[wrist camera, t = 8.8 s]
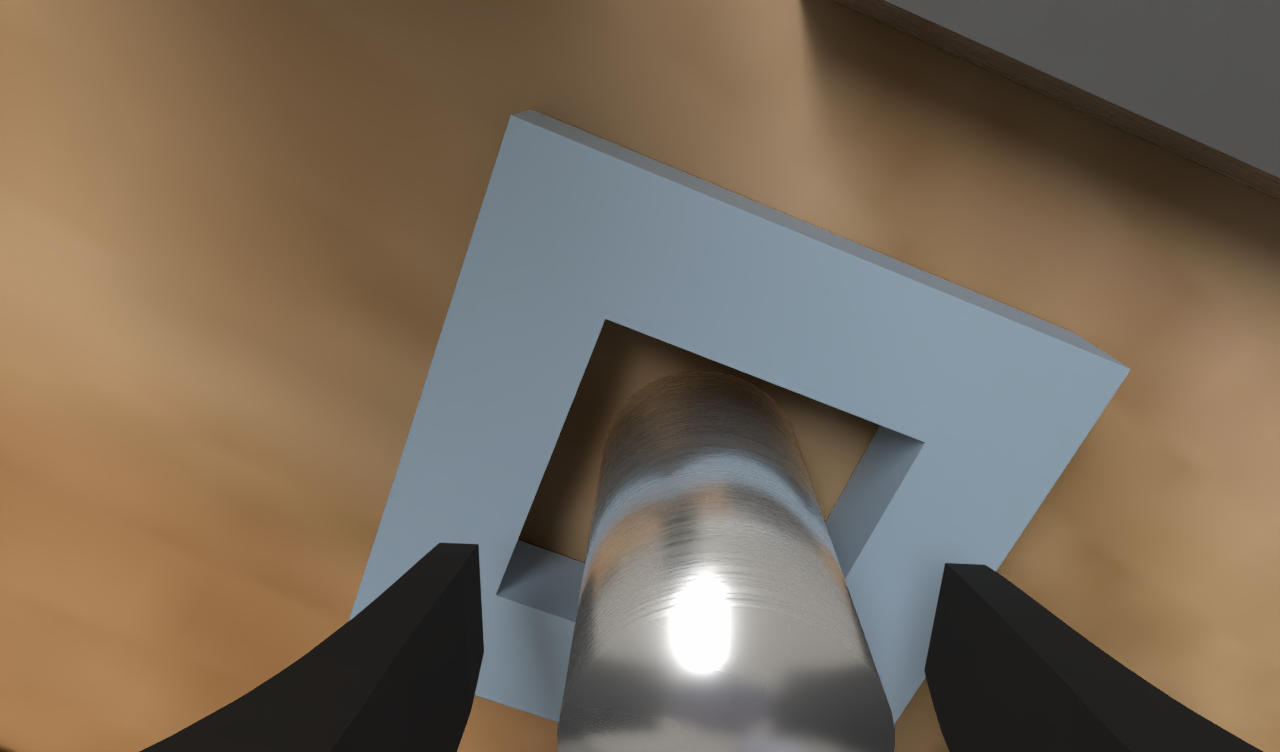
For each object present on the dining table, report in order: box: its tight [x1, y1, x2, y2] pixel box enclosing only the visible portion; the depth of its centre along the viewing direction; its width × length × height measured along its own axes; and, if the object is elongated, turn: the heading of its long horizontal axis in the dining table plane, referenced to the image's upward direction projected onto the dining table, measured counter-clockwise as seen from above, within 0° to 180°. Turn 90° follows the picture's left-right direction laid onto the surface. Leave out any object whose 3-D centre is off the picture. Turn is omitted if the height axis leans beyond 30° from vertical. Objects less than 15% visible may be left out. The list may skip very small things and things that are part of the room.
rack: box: [349, 109, 1131, 724], centre depth 16 cm, size 11×11×2 cm
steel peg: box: [557, 371, 895, 752], centre depth 13 cm, size 4×4×8 cm
